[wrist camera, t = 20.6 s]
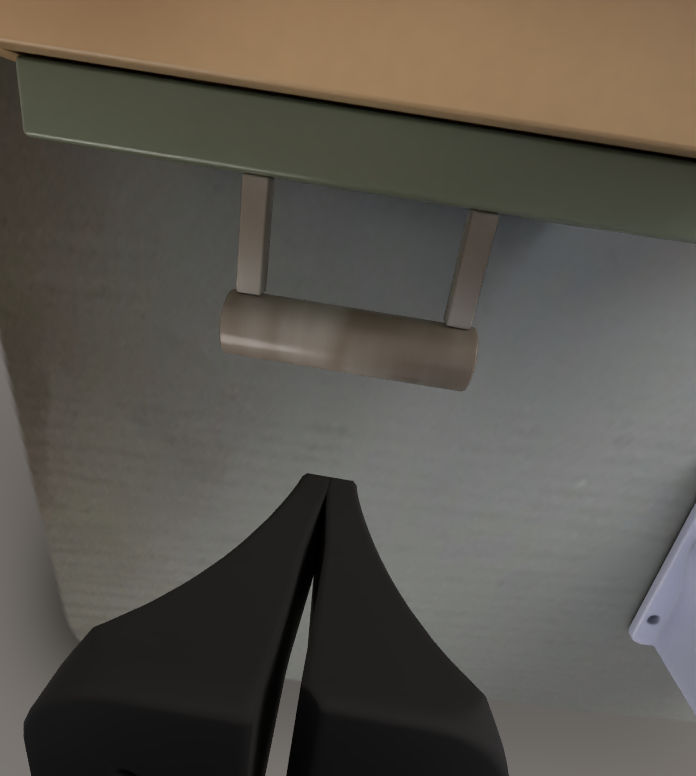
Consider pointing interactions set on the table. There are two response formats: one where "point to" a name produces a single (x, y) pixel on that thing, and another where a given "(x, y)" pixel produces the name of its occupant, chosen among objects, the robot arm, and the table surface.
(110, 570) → the table surface
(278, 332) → the drawer
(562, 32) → the cabinet
